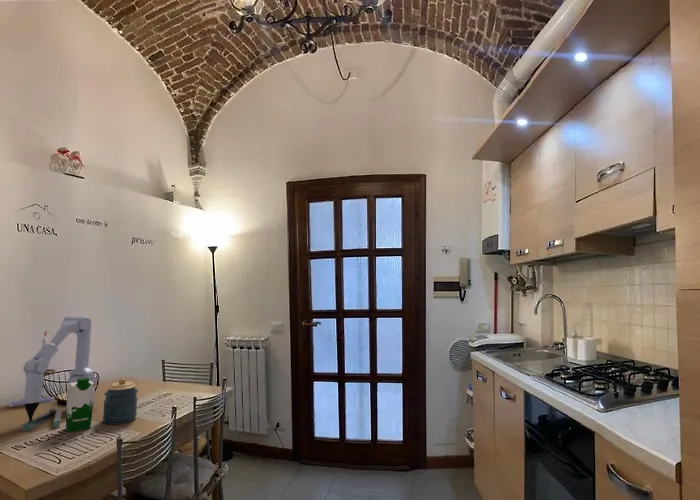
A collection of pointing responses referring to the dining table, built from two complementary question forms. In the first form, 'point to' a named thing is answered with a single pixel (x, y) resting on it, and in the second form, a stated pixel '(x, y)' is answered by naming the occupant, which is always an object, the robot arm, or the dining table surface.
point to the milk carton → (79, 405)
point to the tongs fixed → (56, 417)
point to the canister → (120, 402)
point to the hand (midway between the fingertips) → (30, 422)
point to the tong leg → (36, 421)
